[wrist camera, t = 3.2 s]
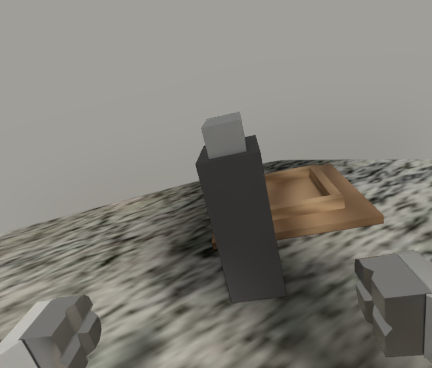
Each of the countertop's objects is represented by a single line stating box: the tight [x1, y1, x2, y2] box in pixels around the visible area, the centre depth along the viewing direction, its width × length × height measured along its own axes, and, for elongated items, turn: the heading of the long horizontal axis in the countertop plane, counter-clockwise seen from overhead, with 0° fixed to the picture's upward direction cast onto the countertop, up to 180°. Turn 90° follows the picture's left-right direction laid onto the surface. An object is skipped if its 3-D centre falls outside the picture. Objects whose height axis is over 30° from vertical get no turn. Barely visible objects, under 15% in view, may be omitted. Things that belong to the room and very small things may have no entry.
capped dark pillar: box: [196, 112, 286, 303], centre depth 21 cm, size 4×5×13 cm
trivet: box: [212, 164, 384, 250], centre depth 35 cm, size 16×16×2 cm
